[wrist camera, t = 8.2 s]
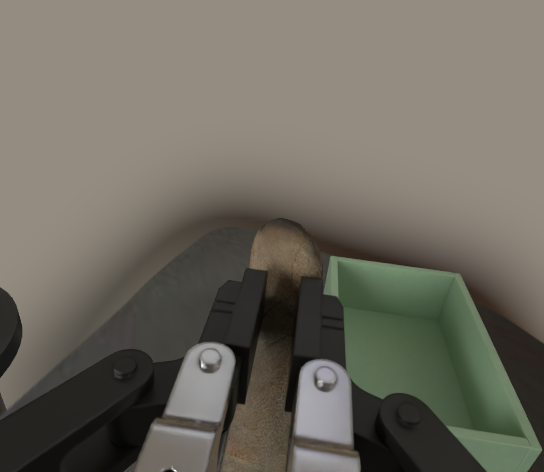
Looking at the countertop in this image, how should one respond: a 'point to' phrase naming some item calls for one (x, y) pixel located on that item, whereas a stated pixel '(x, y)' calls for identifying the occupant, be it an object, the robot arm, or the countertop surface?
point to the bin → (432, 355)
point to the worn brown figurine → (272, 348)
